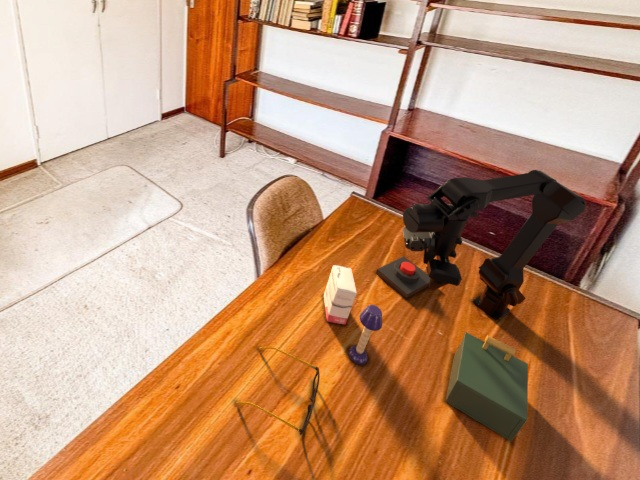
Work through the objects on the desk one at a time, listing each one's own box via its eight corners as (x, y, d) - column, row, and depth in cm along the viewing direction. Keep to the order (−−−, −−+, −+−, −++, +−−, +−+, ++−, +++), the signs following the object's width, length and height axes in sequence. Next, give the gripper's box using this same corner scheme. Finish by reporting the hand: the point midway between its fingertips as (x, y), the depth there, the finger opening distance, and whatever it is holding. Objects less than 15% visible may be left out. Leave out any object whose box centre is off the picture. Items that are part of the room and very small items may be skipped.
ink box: (347, 326, 101) (357, 293, 96) (326, 322, 102) (336, 289, 97) (342, 298, 109) (351, 266, 104) (323, 294, 110) (331, 263, 104)
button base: (402, 260, 122) (405, 251, 121) (432, 283, 114) (436, 275, 113) (375, 273, 117) (378, 264, 116) (406, 298, 109) (409, 289, 108)
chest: (454, 355, 95) (464, 336, 92) (513, 387, 88) (526, 368, 86) (445, 401, 85) (455, 382, 82) (511, 442, 79) (525, 422, 76)
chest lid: (464, 334, 93) (471, 321, 91) (526, 365, 86) (535, 352, 84) (455, 382, 82) (463, 369, 80) (525, 422, 76) (535, 409, 74)
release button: (405, 264, 117) (407, 260, 116) (416, 273, 114) (418, 268, 113) (397, 268, 115) (399, 263, 114) (408, 277, 112) (410, 272, 112)
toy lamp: (371, 366, 92) (390, 318, 84) (352, 367, 91) (369, 319, 84) (362, 347, 96) (379, 299, 89) (343, 348, 96) (359, 300, 88)
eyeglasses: (304, 444, 77) (307, 433, 75) (235, 404, 83) (237, 393, 82) (319, 380, 88) (323, 369, 87) (258, 348, 95) (260, 337, 93)
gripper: (406, 198, 104) (390, 243, 111) (414, 244, 88) (396, 293, 95) (454, 208, 101) (435, 254, 107) (472, 259, 85) (449, 309, 92)
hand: (428, 276), depth 101 cm, fingers open, 9 cm apart
